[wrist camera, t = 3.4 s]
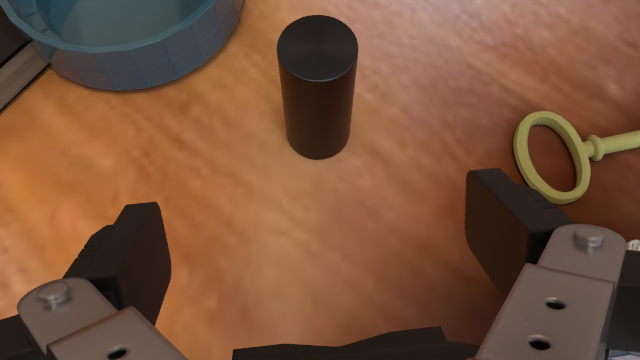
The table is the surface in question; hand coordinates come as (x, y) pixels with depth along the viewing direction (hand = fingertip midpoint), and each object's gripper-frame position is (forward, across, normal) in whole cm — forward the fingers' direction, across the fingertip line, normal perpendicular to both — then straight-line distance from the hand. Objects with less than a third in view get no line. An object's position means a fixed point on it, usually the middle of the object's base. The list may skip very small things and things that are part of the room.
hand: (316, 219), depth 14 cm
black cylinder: (+27, -2, +6) cm, 28 cm away
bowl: (+37, +13, -4) cm, 39 cm away
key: (+24, -22, +9) cm, 34 cm away
